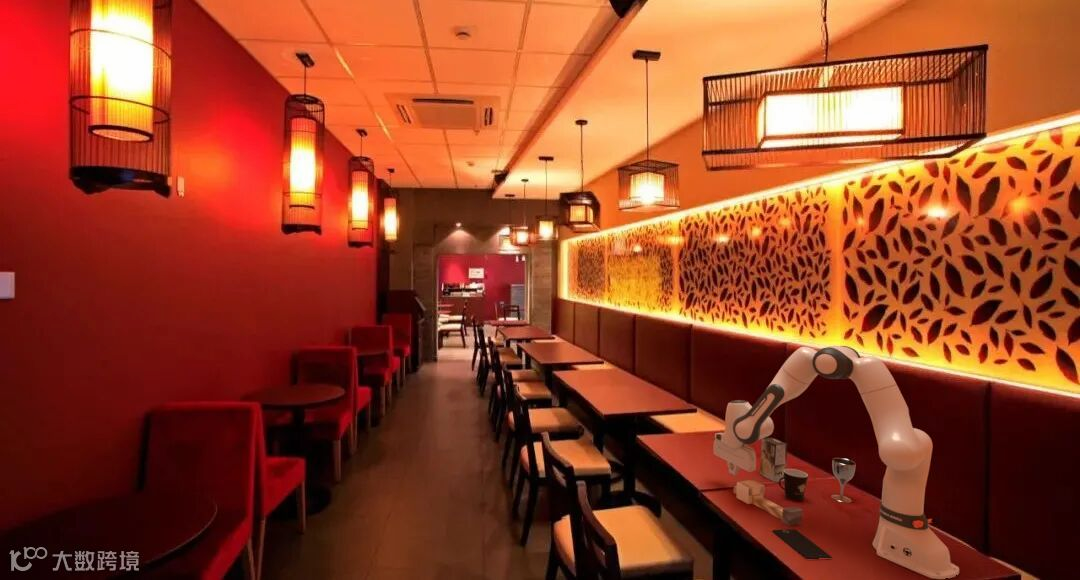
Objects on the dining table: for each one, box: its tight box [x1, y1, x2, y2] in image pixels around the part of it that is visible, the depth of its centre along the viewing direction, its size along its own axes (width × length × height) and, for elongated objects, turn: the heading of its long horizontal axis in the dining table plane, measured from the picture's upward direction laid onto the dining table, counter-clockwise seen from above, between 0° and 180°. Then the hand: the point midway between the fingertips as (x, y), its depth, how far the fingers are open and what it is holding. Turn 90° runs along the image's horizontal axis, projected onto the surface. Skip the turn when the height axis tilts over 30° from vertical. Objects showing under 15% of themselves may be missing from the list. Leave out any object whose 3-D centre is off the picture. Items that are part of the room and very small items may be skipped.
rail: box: [733, 484, 803, 527], centre depth 196 cm, size 28×6×5 cm, turn 23°
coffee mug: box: [778, 468, 809, 503], centre depth 207 cm, size 12×9×10 cm
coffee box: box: [759, 437, 788, 483], centre depth 228 cm, size 9×6×16 cm
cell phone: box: [772, 528, 833, 560], centre depth 170 cm, size 9×18×1 cm, turn 9°
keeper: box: [735, 479, 765, 505], centre depth 203 cm, size 6×8×6 cm
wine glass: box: [830, 457, 856, 504], centre depth 209 cm, size 8×8×15 cm
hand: (732, 474), depth 211 cm, fingers closed
